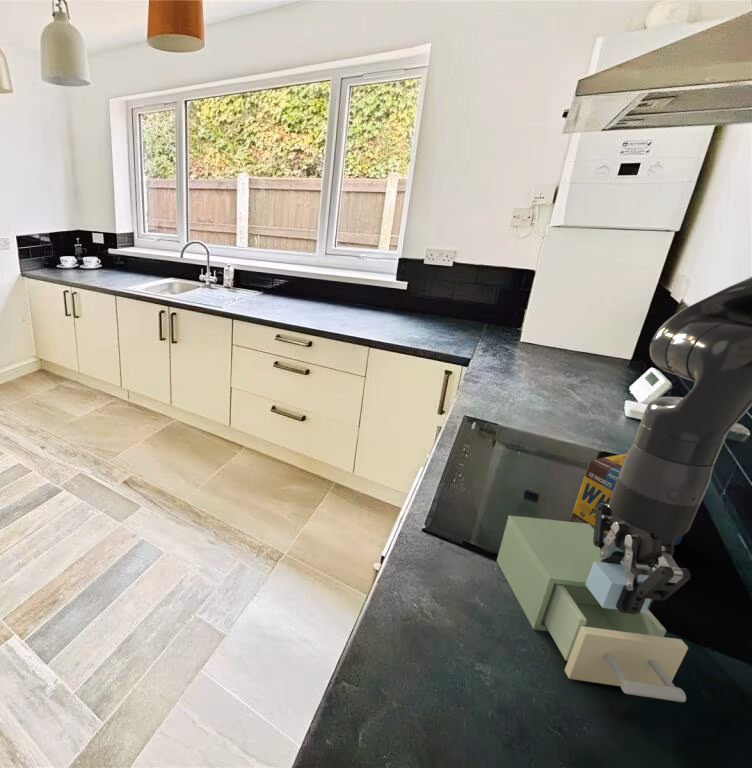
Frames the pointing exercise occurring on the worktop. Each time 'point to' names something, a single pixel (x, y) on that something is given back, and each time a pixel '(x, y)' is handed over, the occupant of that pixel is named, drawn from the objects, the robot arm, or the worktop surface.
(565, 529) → the cabinet
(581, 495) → the protein box
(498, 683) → the worktop surface
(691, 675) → the worktop surface
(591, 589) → the block
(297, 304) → the worktop surface
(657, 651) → the drawer
